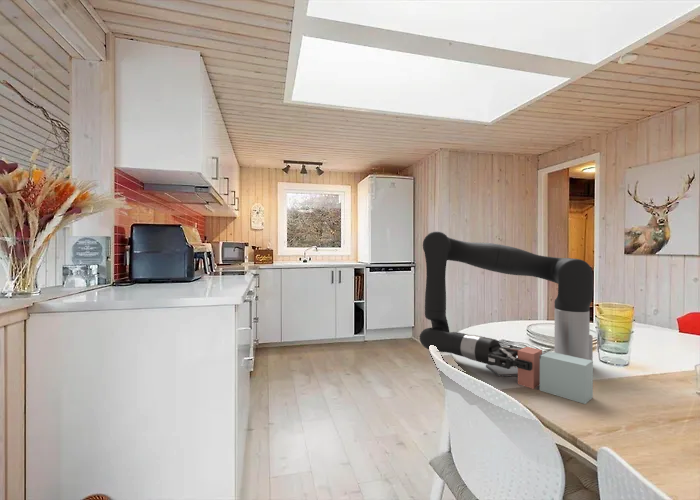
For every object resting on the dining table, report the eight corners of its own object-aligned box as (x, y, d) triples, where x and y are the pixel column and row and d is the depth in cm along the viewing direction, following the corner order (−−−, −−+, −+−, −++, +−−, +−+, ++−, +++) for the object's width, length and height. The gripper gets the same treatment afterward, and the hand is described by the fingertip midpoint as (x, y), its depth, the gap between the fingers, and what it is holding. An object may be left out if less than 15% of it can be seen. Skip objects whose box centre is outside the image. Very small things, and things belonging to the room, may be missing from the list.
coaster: (510, 365, 105) (510, 363, 105) (526, 375, 97) (526, 373, 97) (485, 366, 104) (485, 364, 104) (499, 376, 96) (499, 374, 96)
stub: (517, 383, 91) (517, 350, 91) (526, 378, 94) (526, 346, 94) (533, 388, 88) (533, 354, 88) (542, 383, 91) (542, 349, 91)
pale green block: (535, 389, 87) (535, 354, 87) (544, 383, 91) (544, 350, 91) (585, 404, 79) (585, 365, 79) (592, 397, 83) (592, 360, 82)
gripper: (467, 340, 97) (526, 354, 85) (491, 332, 107) (548, 344, 94) (467, 366, 98) (526, 384, 85) (491, 356, 107) (548, 370, 94)
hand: (538, 363), depth 89 cm, fingers open, 7 cm apart
